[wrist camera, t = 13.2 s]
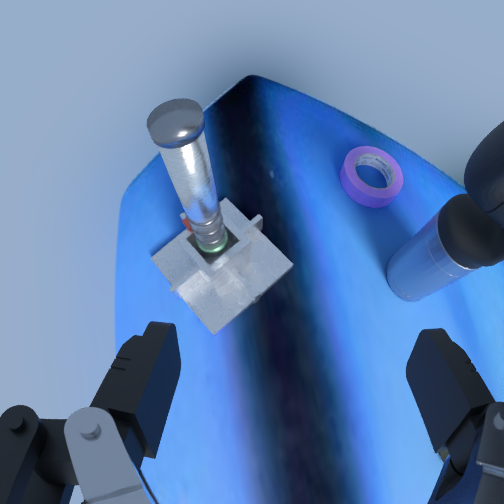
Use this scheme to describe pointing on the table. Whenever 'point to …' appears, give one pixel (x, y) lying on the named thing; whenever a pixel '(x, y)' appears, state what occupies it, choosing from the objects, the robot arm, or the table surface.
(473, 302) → the table surface
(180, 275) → the jack base
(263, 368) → the table surface
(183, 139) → the cylinder
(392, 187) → the masking tape
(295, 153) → the table surface
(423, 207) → the table surface
